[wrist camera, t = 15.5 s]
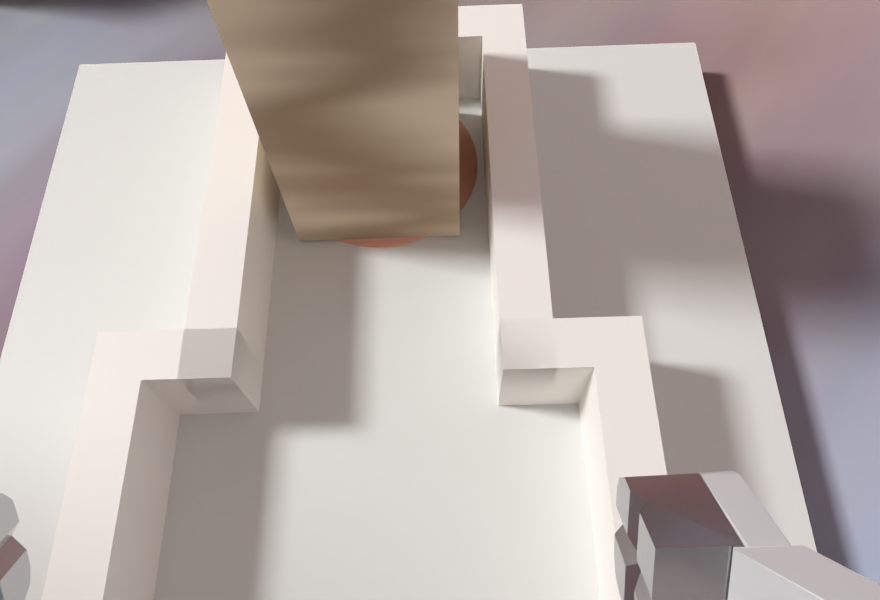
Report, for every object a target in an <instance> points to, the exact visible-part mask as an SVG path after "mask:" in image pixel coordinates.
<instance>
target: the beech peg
mask: <svg viewBox="0 0 880 600" xmlns="http://www.w3.org/2000/svg"><path fill="white" fill-rule="evenodd" d="M206 1H207V3H208V6H209V8H210V11H211V14H212V16H213V19H214V21H215V24H216V27H217V29H218V32H219V34H220V37H221V40H222V42H223V45H224V47H225V50H226V53H227V55H228V58H229V60H230V63H231V65H232V68H233V71H234V73H235V76H236V78H237V81H238V84H239V86H240V89H241V91H242V94H243V97H244V99H245V102H246V104H247V107H248V109H249V112H250V115H251V117H252V120H253V122H254V125H255V128H256V130H257V133H258V135H259V138H260V141H261V143H262V146H263V148H264V151H265V153H266V156H267V159H268V161H269V164H270V166H271V169H272V172H273V174H274V177H275V179H276V182H277V185H278V187H279V190H280V192H281V195H282V197H283V200H284V203H285V205H286V208H287V210H288V213H289V216H290V218H291V221H292V223H293V226H294V229H295V231H296V234H297V236H298V239H299V241H312V240H342V239H372V238H402V237H432V236H460V200H459V57H458V0H206Z"/></svg>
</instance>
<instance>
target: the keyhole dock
mask: <svg viewBox="0 0 880 600" xmlns="http://www.w3.org/2000/svg"><path fill="white" fill-rule="evenodd" d="M458 57H459V200H460V236H432V237H402V238H372V239H342V240H312V241H299V239H298V236H297V234H296V231H295V229H294V226H293V223H292V221H291V218H290V216H289V213H288V210H287V208H286V205H285V203H284V200H283V197H282V195H281V192H280V190H279V187H278V185H277V182H276V179H275V177H274V174H273V172H272V169H271V166H270V164H269V161H268V159H267V156H266V153H265V151H264V148H263V146H262V143H261V141H260V138H259V135H258V133H257V130H256V128H255V125H254V122H253V120H252V117H251V115H250V112H249V109H248V107H247V104H246V102H245V99H244V97H243V94H242V91H241V89H240V86H239V84H238V81H237V78H236V76H235V73H234V71H233V68H232V65H231V63H230V60H229V58H228V55H227V53H226V57H225V59H223V60H196V61H168V62H140V63H112V64H85V65H80V66H79V69H78V73H77V77H76V80H75V84H74V88H73V92H72V95H71V99H70V103H69V106H68V110H67V114H66V118H65V121H64V125H63V129H62V132H61V136H60V140H59V144H58V147H57V151H56V155H55V158H54V162H53V166H52V169H51V173H50V177H49V181H48V184H47V188H46V192H45V195H44V199H43V203H42V207H41V210H40V214H39V218H38V221H37V225H36V229H35V233H34V236H33V240H32V244H31V247H30V251H29V255H28V258H27V262H26V266H25V270H24V273H23V277H22V281H21V284H20V288H19V292H18V296H17V299H16V303H15V307H14V310H13V314H12V318H11V322H10V325H9V329H8V333H7V336H6V340H5V344H4V348H3V351H2V355H1V359H0V493H3V494H4V495H6V496H8V497H9V498H11V499H12V500H13V502H14V505H15V508H16V512H17V515H18V518H19V523H18V525H17V527H16V528H15V530H14V532H13V534H12V536H13V537H14V538H15V539H16V540H17V541H18V542H19V543H20V544H21V545H22V546H23V547H25V548H26V549H27V553H28V557H29V561H30V586H29V589H28V592H27V595H26V598H25V600H621V597H620V594H619V590H618V585H617V581H616V573H615V561H614V535H615V533H616V532H617V530H618V529H619V528H620V527H621V526H622V525H623V523H622V520H621V517H620V515H619V512H618V509H617V507H616V495H617V486H618V481H619V478H620V477H636V476H655V475H673V474H692V473H706V472H721V471H734V472H736V473H738V474H740V476H741V477H742V478H743V480H744V481H745V482H746V484H747V485H748V487H749V488H750V489H751V491H752V492H753V493H754V495H755V496H756V498H757V499H758V500H759V502H760V503H761V504H762V506H763V507H764V509H765V510H766V511H767V513H768V514H769V515H770V517H771V518H772V520H773V521H774V522H775V524H776V525H777V526H778V528H779V529H780V530H781V532H782V533H783V535H784V536H785V537H786V539H787V540H788V541H789V543H790V544H791V546H800V545H804V546H806V547H808V548H810V549H812V550H814V551H815V552H817V549H816V545H815V541H814V537H813V533H812V528H811V524H810V520H809V516H808V512H807V508H806V503H805V499H804V495H803V491H802V487H801V483H800V478H799V474H798V470H797V466H796V462H795V458H794V453H793V449H792V445H791V441H790V437H789V433H788V428H787V424H786V420H785V416H784V412H783V408H782V403H781V399H780V395H779V391H778V387H777V383H776V378H775V374H774V370H773V366H772V362H771V358H770V353H769V349H768V345H767V341H766V337H765V333H764V328H763V324H762V320H761V316H760V312H759V308H758V303H757V299H756V295H755V291H754V287H753V283H752V278H751V274H750V270H749V266H748V262H747V258H746V253H745V249H744V245H743V241H742V237H741V233H740V228H739V224H738V220H737V216H736V212H735V208H734V203H733V199H732V195H731V191H730V187H729V183H728V179H727V174H726V170H725V166H724V162H723V158H722V154H721V149H720V145H719V141H718V137H717V133H716V129H715V124H714V120H713V116H712V112H711V108H710V104H709V99H708V95H707V91H706V87H705V83H704V79H703V74H702V70H701V66H700V62H699V58H698V54H697V49H696V45H695V43H668V44H640V45H612V46H585V47H557V48H529V49H526V39H525V29H524V19H523V9H522V4H508V5H481V6H458Z"/></svg>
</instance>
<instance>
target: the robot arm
mask: <svg viewBox="0 0 880 600" xmlns="http://www.w3.org/2000/svg"><path fill="white" fill-rule="evenodd" d="M616 507H617V509H618V512H619V515H620V517H621V520H622V523H623V525H622V526H621V527H620V528H619V529H618V530H617V532H616V533H615V535H614V561H615V573H616V581H617V585H618V590H619V594H620V597H621V600H880V585H879V584H877V583H876V582H874V581H872V580H870V579H868V578H866V577H864V576H862V575H860V574H858V573H856V572H854V571H852V570H850V569H848V568H846V567H845V566H843V565H841V564H839V563H837V562H835V561H833V560H831V559H829V558H827V557H825V556H823V555H821V554H819V553H817V552H815V551H814V550H812V549H810V548H808V547H806V546H804V545H800V546H791V544H790V543H789V541H788V540H787V539H786V537H785V536H784V535H783V533H782V532H781V530H780V529H779V528H778V526H777V525H776V524H775V522H774V521H773V520H772V518H771V517H770V515H769V514H768V513H767V511H766V510H765V509H764V507H763V506H762V504H761V503H760V502H759V500H758V499H757V498H756V496H755V495H754V493H753V492H752V491H751V489H750V488H749V487H748V485H747V484H746V482H745V481H744V480H743V478H742V477H741V476H740V474H738V473H736V472H734V471H721V472H706V473H692V474H673V475H655V476H636V477H620V478H619V481H618V486H617V495H616ZM18 523H19V518H18V515H17V512H16V508H15V505H14V502H13V500H12V499H11V498H9V497H8V496H6V495H4V494H3V493H0V600H25V598H26V595H27V592H28V589H29V586H30V561H29V557H28V553H27V549H26V548H25V547H23V546H22V545H21V544H20V543H19V542H18V541H17V540H16V539H15V538H14V537H13V536H12V534H13V532H14V530H15V528H16V527H17V525H18Z"/></svg>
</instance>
